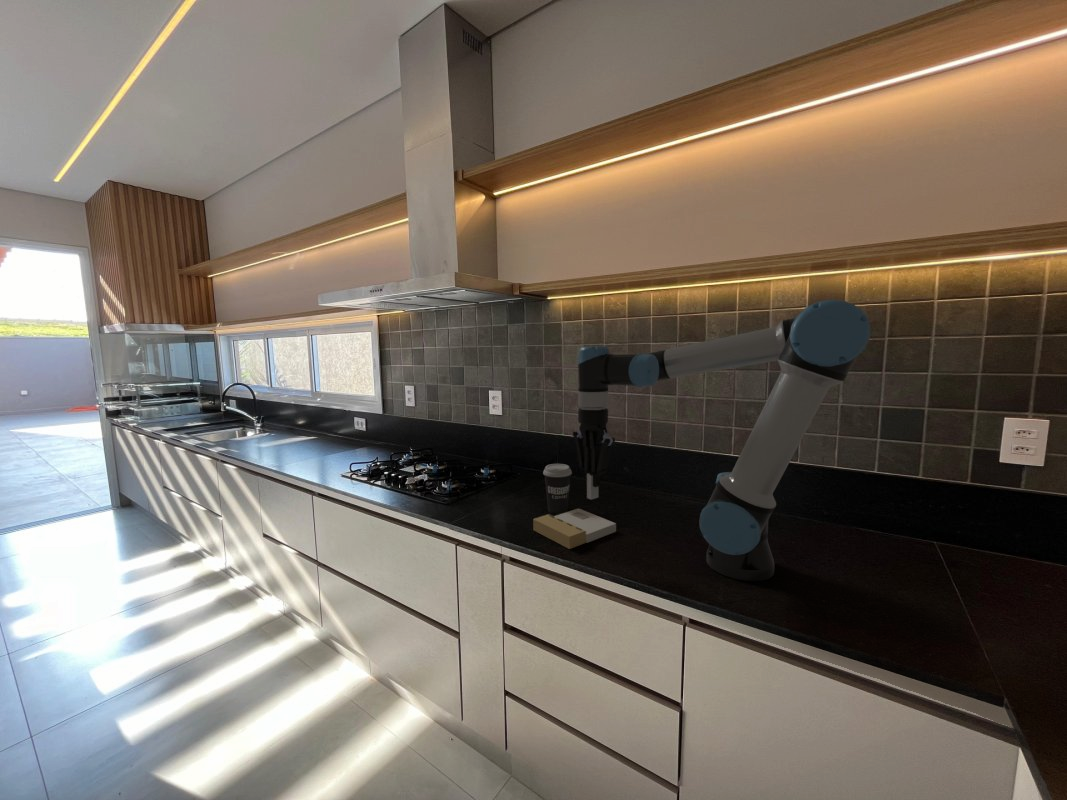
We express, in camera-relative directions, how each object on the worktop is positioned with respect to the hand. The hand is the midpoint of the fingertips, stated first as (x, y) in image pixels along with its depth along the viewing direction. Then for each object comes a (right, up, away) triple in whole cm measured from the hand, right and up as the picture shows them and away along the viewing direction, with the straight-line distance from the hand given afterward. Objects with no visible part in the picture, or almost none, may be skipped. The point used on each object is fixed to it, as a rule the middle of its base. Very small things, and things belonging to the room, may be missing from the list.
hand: (592, 497), depth 113 cm
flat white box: (-1, -13, +18) cm, 23 cm away
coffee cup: (-7, -12, +34) cm, 36 cm away
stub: (-8, -14, +13) cm, 21 cm away
